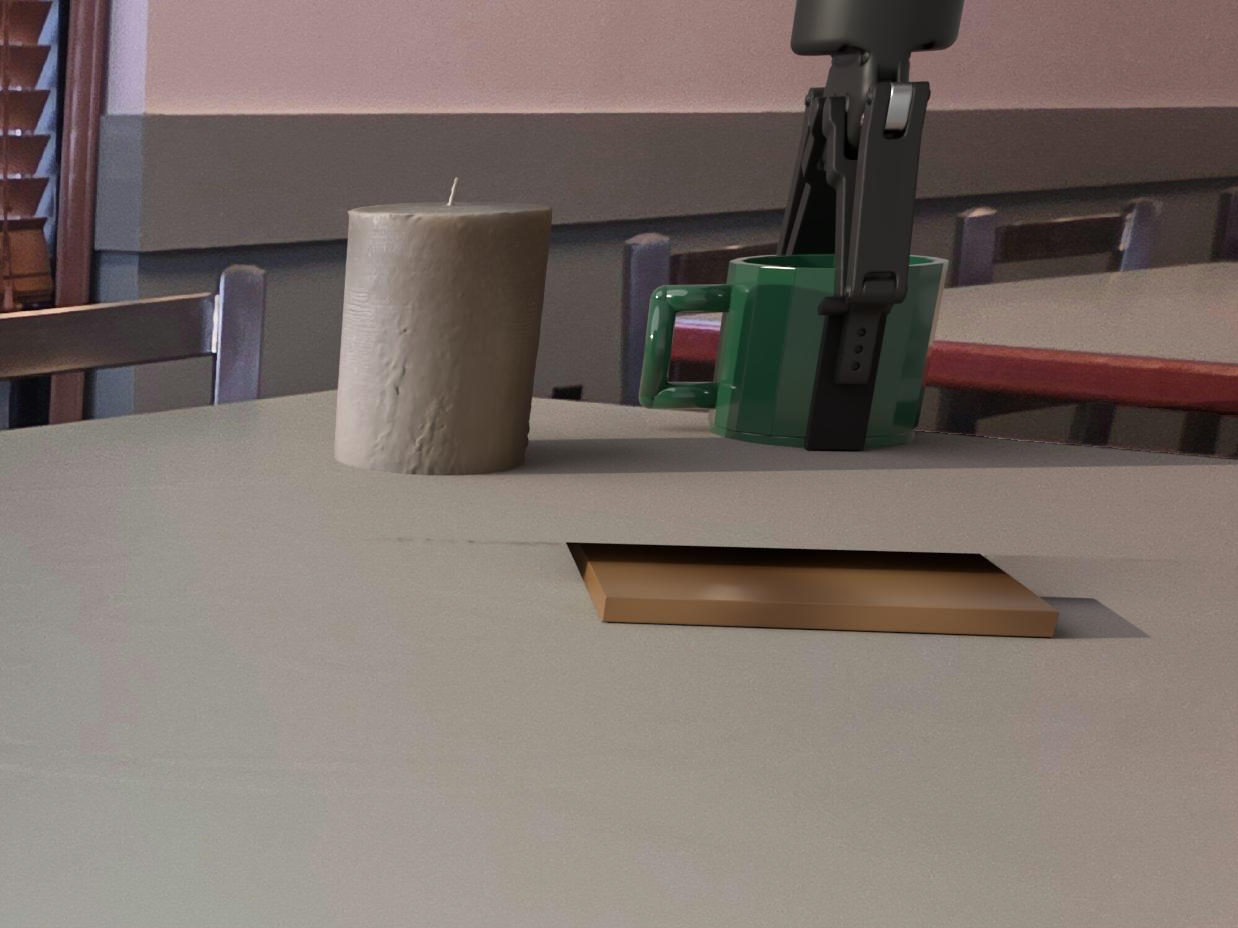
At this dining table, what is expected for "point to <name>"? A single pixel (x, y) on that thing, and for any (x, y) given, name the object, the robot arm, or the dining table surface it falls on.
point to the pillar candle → (440, 335)
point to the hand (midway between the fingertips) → (808, 431)
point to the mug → (789, 349)
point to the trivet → (809, 589)
